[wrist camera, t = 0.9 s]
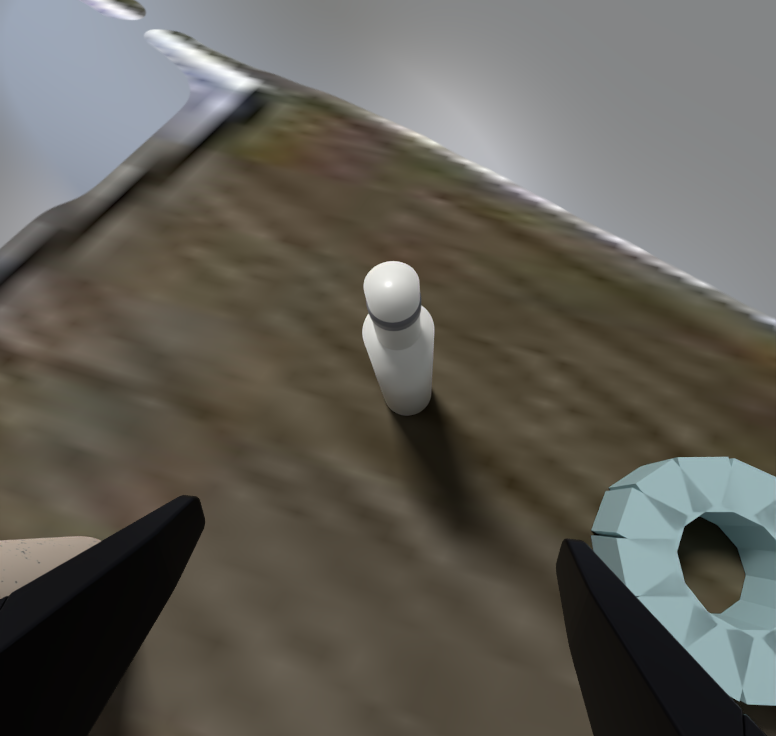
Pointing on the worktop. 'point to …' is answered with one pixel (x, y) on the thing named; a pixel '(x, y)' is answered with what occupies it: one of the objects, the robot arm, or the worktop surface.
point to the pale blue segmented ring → (663, 571)
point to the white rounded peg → (399, 337)
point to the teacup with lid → (36, 558)
